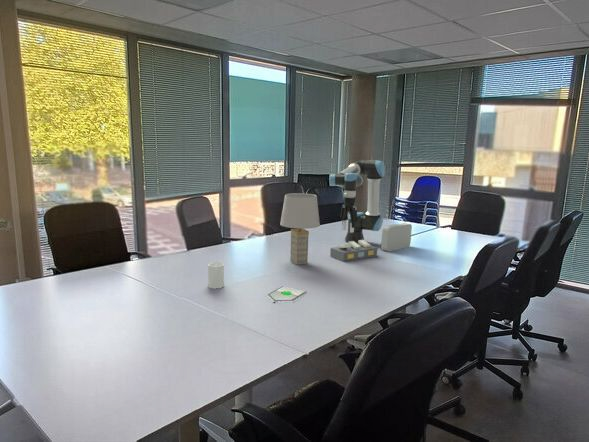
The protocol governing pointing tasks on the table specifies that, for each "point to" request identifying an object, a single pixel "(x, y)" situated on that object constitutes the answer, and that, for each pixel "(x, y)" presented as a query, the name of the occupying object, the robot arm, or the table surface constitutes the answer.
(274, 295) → the security device
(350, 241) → the rocker
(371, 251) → the switch unit
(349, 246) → the rocker
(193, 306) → the table surface
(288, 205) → the lamp
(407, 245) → the rounded white slab
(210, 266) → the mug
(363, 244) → the rocker
